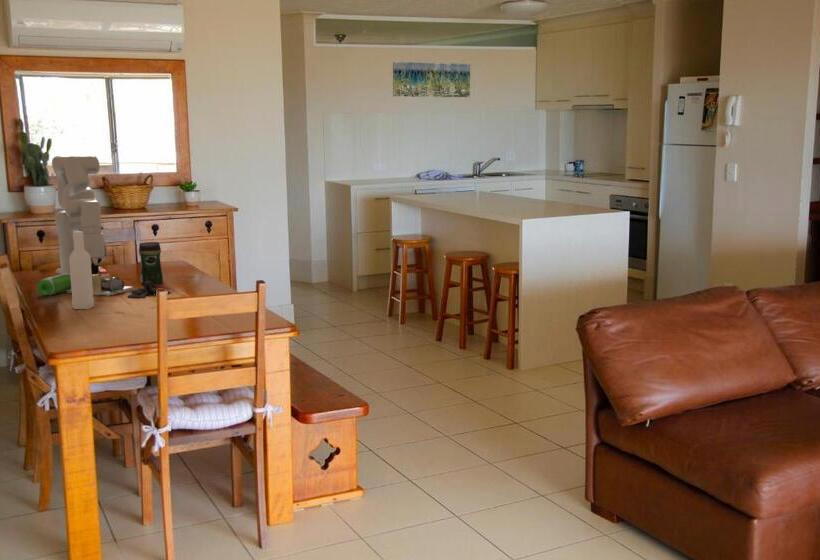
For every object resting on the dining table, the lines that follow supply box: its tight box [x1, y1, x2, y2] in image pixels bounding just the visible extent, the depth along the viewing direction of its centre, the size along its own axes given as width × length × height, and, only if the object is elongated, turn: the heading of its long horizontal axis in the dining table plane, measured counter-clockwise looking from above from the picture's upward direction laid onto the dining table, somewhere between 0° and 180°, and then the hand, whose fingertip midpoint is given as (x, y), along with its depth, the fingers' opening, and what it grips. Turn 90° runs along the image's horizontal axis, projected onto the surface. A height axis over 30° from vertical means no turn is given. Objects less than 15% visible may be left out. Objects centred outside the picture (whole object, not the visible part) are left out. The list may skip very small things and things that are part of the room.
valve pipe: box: [65, 273, 134, 297], centre depth 377 cm, size 23×16×7 cm
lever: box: [98, 266, 108, 275], centre depth 371 cm, size 14×4×3 cm, turn 28°
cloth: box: [126, 281, 172, 299], centre depth 371 cm, size 22×19×6 cm
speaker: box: [36, 273, 71, 296], centre depth 375 cm, size 18×7×8 cm, turn 166°
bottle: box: [69, 230, 95, 310], centre depth 341 cm, size 8×8×30 cm
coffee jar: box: [138, 241, 164, 285], centre depth 395 cm, size 10×8×19 cm
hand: (94, 273), depth 367 cm, fingers closed
